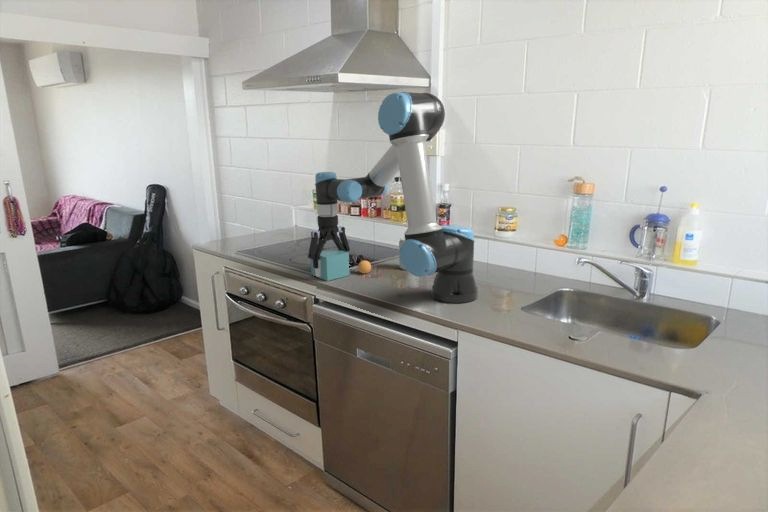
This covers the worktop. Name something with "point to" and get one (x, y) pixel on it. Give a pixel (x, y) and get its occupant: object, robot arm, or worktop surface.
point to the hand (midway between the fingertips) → (330, 273)
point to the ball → (364, 266)
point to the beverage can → (399, 255)
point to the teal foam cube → (333, 264)
